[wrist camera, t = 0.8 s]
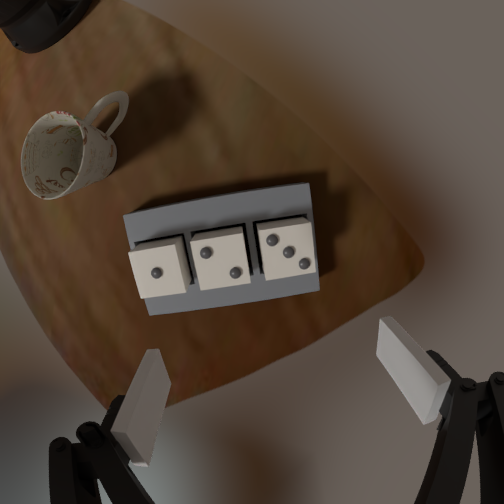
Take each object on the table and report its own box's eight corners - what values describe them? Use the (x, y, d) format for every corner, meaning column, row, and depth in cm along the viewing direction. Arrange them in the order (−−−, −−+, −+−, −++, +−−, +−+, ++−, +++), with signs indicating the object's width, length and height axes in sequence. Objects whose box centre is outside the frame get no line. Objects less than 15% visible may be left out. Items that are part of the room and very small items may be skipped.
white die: (195, 233, 30) (189, 242, 26) (242, 225, 30) (242, 233, 26) (204, 277, 32) (200, 291, 28) (249, 270, 32) (250, 283, 28)
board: (132, 211, 31) (123, 215, 29) (302, 182, 32) (309, 183, 29) (155, 304, 35) (149, 315, 32) (313, 280, 35) (319, 290, 32)
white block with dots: (256, 223, 30) (258, 231, 26) (302, 216, 30) (311, 222, 26) (262, 268, 32) (266, 281, 28) (307, 260, 32) (316, 272, 28)
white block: (140, 243, 30) (127, 253, 26) (182, 235, 30) (174, 244, 26) (150, 285, 32) (140, 299, 28) (191, 279, 32) (185, 293, 28)
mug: (59, 165, 29) (10, 167, 20) (117, 84, 27) (77, 58, 17) (100, 204, 31) (54, 217, 21) (163, 120, 29) (132, 100, 19)
